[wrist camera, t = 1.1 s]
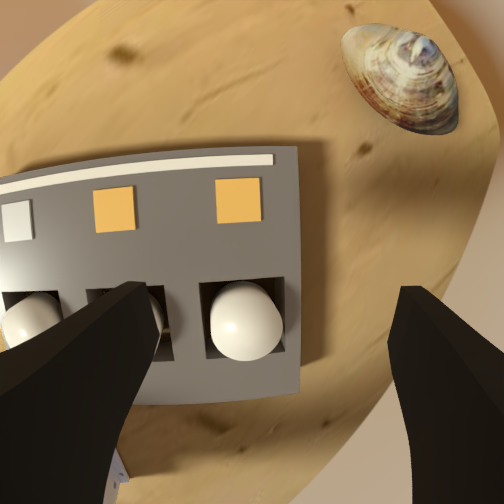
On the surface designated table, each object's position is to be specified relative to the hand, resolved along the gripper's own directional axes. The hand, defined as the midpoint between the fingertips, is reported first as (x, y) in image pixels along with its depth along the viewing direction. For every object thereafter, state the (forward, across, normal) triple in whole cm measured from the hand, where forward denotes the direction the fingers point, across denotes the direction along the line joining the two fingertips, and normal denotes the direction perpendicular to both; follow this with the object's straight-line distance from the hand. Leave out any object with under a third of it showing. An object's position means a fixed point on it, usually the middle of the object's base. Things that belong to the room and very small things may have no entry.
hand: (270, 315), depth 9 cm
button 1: (+9, +3, +7) cm, 12 cm away
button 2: (+6, +16, +6) cm, 18 cm away
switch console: (+9, +10, +5) cm, 15 cm away
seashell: (+18, -7, -6) cm, 20 cm away
